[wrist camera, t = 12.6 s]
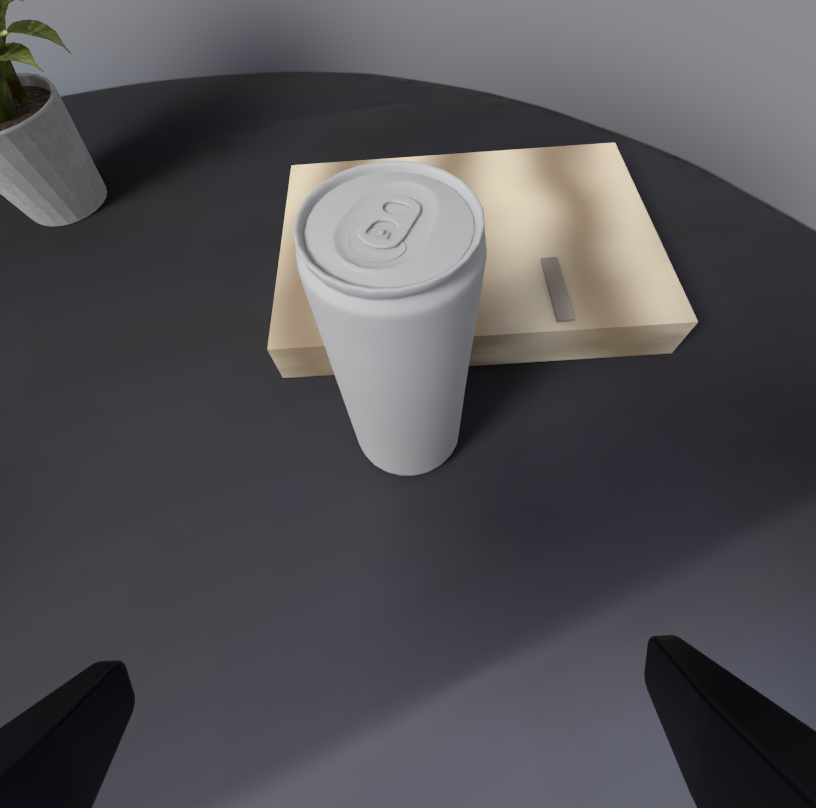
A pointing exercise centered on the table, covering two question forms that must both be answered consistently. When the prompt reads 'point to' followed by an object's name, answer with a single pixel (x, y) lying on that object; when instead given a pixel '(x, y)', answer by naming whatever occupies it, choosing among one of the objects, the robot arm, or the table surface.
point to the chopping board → (527, 262)
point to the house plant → (41, 139)
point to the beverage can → (396, 302)
